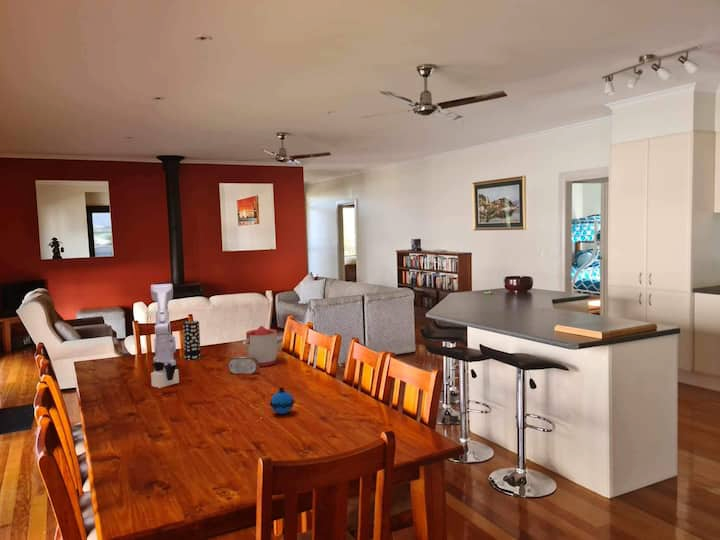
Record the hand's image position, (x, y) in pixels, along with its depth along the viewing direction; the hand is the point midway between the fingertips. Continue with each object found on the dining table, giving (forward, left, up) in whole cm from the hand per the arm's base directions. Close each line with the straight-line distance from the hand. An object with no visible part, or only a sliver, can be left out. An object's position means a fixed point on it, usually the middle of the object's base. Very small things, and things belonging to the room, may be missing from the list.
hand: (165, 378), depth 240 cm
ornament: (+73, +1, -3) cm, 73 cm away
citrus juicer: (+11, +48, -3) cm, 49 cm away
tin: (+17, +31, -3) cm, 35 cm away
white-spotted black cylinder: (-31, +37, -3) cm, 48 cm away
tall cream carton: (0, 0, -2) cm, 3 cm away
